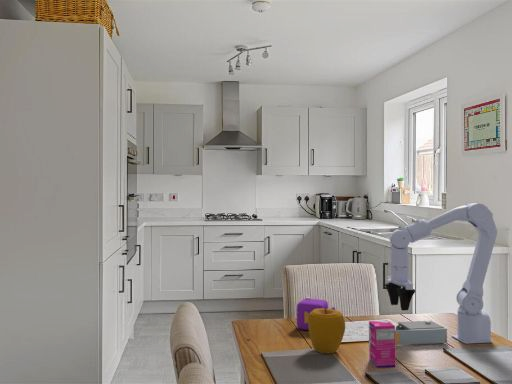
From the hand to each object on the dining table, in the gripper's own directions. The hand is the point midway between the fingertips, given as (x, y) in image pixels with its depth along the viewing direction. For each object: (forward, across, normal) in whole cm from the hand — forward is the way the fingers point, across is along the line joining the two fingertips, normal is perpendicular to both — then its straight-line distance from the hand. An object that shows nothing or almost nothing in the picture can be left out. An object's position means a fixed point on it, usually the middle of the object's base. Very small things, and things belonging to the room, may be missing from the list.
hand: (399, 307), depth 161 cm
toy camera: (+10, -13, -24) cm, 29 cm away
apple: (+10, +11, -29) cm, 32 cm away
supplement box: (+10, +24, -17) cm, 31 cm away
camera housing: (+9, +6, +5) cm, 12 cm away
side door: (+9, +11, +2) cm, 14 cm away
